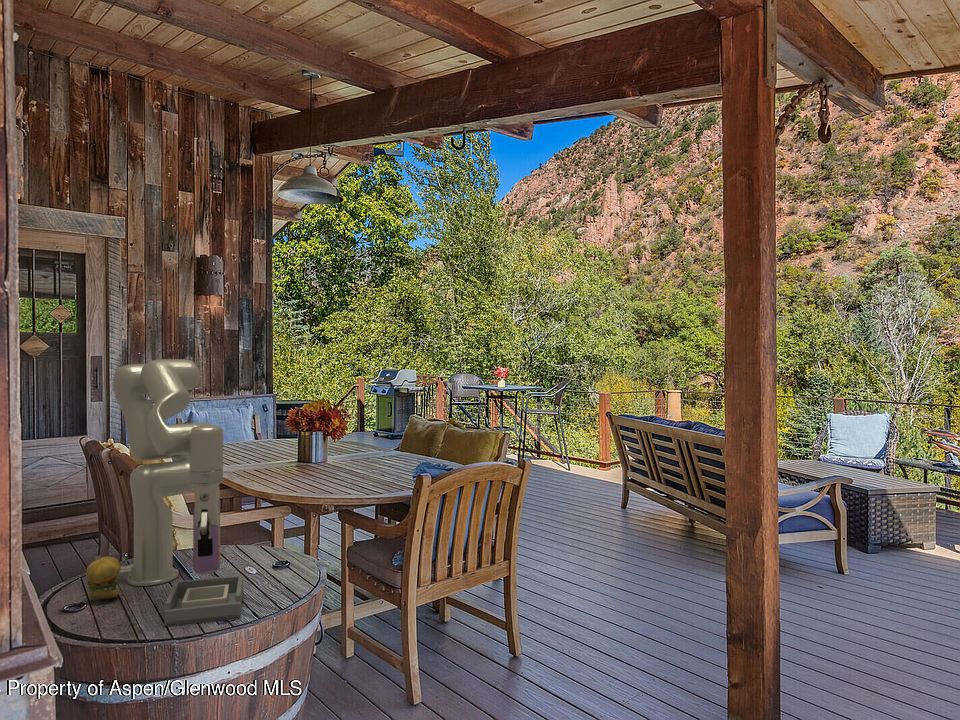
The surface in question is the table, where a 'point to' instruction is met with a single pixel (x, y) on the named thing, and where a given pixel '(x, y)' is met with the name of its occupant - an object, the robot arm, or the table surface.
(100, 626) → the table surface
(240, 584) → the box
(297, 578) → the table surface
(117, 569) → the hamburger
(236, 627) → the table surface
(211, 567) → the beverage can
